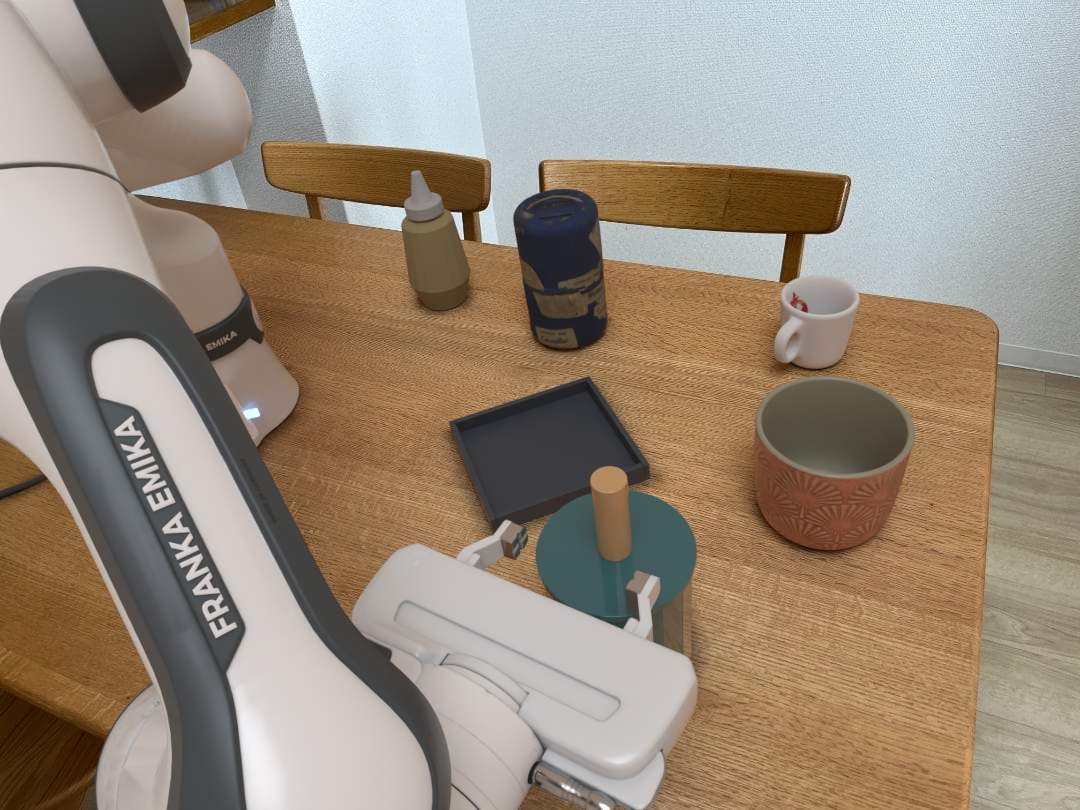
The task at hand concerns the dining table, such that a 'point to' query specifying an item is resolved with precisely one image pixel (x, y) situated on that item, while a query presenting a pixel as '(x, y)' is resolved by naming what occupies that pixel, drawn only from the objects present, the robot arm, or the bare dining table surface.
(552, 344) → the canister
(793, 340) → the cup
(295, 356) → the dining table surface
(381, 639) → the robot arm
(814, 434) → the planter
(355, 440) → the dining table surface
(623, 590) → the teal lid with handle
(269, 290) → the dining table surface
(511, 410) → the tray
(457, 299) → the squeeze bottle
